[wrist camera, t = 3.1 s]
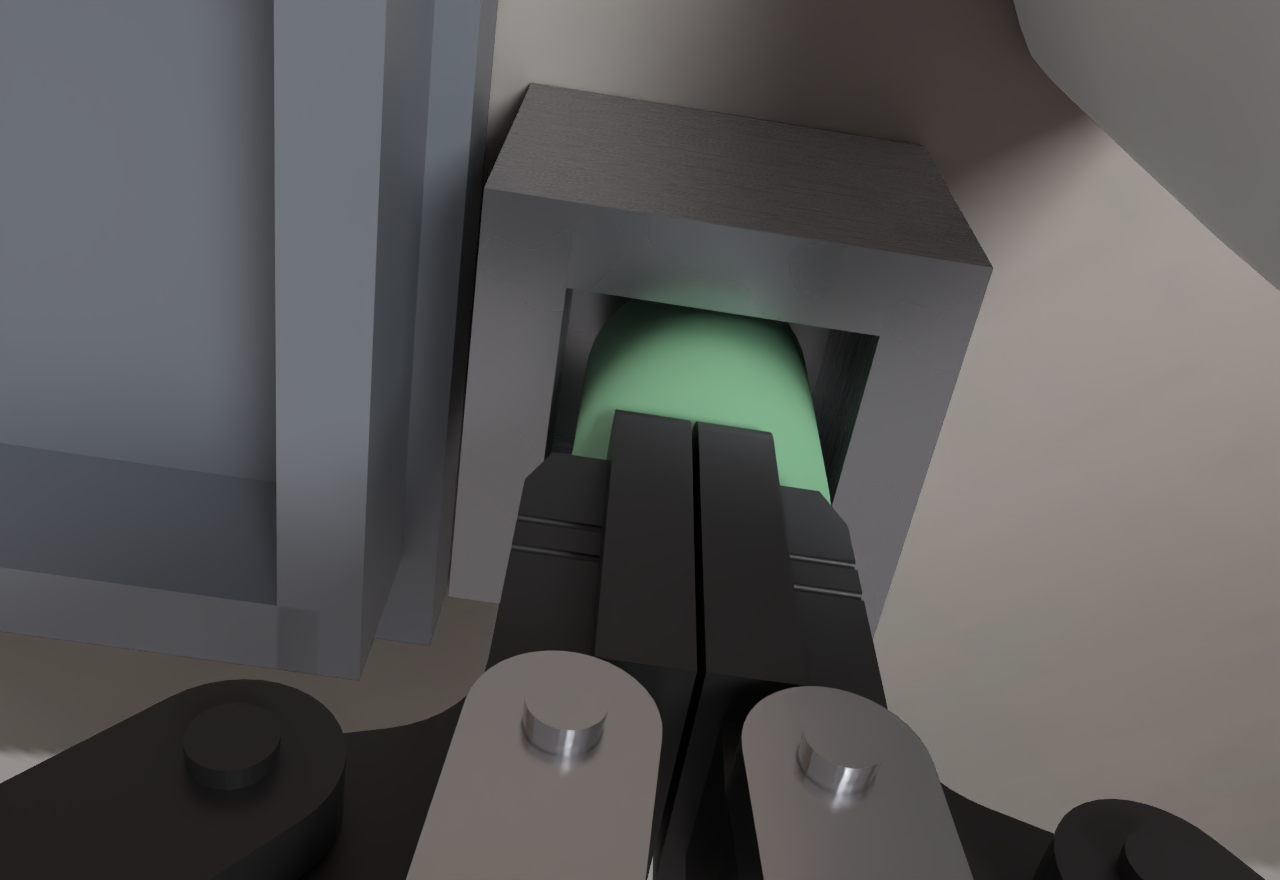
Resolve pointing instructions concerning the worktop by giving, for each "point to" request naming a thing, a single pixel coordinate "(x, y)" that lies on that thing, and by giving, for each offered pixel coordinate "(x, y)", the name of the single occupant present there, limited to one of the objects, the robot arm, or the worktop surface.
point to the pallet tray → (236, 320)
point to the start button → (703, 381)
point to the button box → (714, 295)
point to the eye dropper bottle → (1180, 100)
